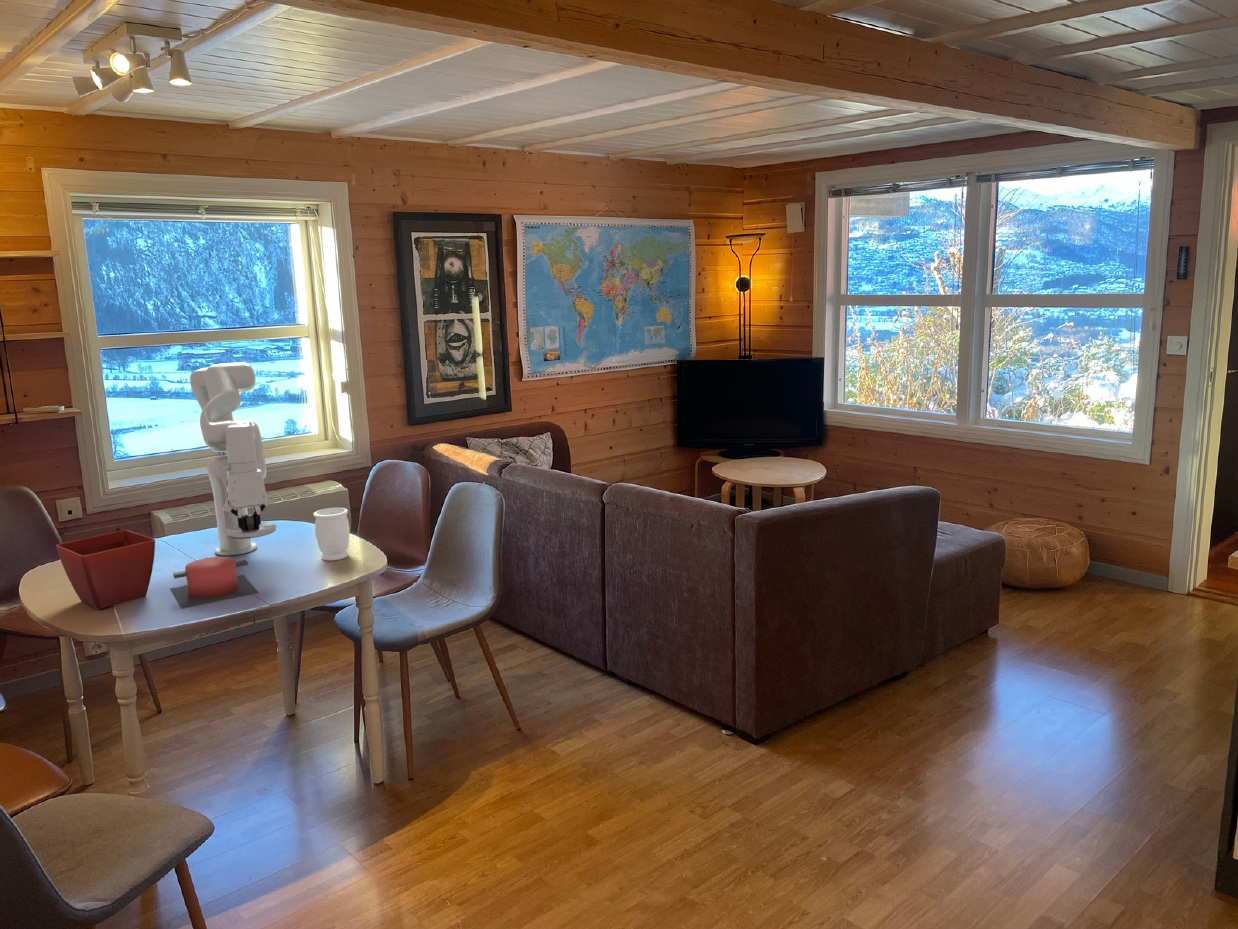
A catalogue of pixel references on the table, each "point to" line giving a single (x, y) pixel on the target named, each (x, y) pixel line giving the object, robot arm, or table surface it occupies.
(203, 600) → the plate
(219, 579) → the pot
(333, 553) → the jar
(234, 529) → the lid
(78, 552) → the plant pot
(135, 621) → the table surface
